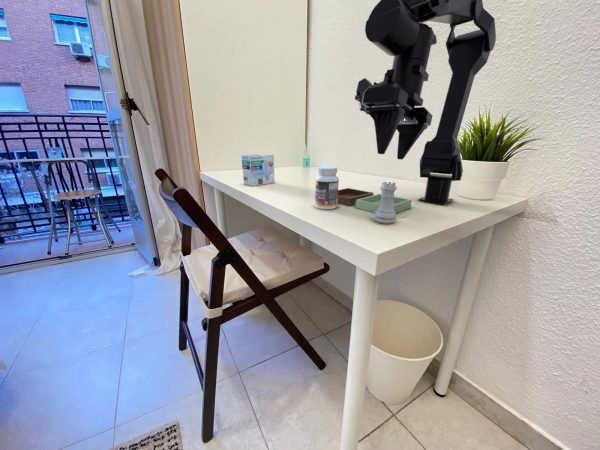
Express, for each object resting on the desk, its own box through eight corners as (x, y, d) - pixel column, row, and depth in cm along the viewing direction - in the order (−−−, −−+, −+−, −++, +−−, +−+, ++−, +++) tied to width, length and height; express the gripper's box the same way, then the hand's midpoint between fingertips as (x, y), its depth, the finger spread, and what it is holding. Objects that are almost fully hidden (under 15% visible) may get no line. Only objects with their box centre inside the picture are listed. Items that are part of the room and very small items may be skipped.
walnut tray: (347, 194, 75) (347, 187, 75) (373, 199, 69) (373, 192, 68) (324, 199, 69) (324, 192, 69) (349, 206, 63) (350, 198, 62)
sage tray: (378, 200, 67) (379, 193, 67) (410, 207, 61) (412, 199, 60) (355, 207, 61) (355, 199, 61) (388, 215, 55) (389, 207, 54)
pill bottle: (310, 206, 63) (310, 167, 59) (326, 202, 66) (327, 165, 63) (326, 211, 58) (327, 169, 55) (342, 206, 62) (344, 167, 59)
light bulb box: (252, 186, 89) (249, 155, 86) (242, 184, 94) (240, 155, 90) (275, 182, 96) (274, 154, 92) (265, 180, 101) (264, 153, 97)
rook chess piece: (378, 216, 54) (382, 180, 52) (398, 220, 52) (404, 182, 49) (370, 221, 51) (373, 183, 48) (391, 226, 48) (396, 186, 46)
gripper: (387, 88, 55) (374, 159, 59) (342, 53, 41) (328, 148, 45) (441, 81, 48) (422, 162, 52) (408, 36, 34) (386, 151, 38)
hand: (391, 156), depth 47 cm, fingers open, 9 cm apart
